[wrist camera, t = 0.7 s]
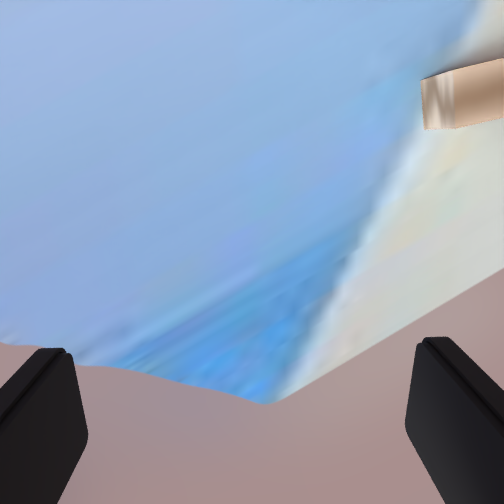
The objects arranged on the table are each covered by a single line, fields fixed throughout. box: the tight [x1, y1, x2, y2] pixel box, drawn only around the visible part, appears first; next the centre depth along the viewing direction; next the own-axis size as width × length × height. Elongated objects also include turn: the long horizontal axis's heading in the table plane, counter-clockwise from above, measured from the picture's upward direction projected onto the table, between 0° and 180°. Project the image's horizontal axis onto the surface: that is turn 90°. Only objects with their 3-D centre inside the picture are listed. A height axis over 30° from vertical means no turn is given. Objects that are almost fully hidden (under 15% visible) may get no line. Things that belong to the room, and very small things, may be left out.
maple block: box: [421, 58, 504, 130], centre depth 35 cm, size 5×5×6 cm
